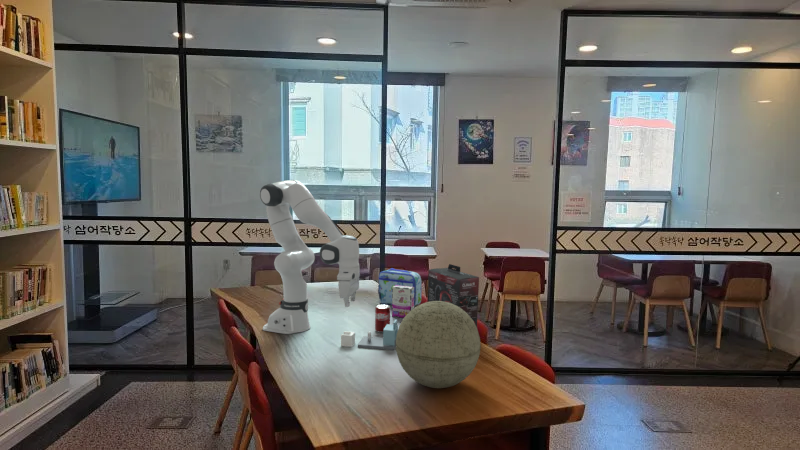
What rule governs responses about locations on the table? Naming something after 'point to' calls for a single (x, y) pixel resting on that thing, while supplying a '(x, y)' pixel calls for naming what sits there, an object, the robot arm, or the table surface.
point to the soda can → (382, 317)
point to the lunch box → (401, 279)
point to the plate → (374, 343)
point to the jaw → (348, 339)
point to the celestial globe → (438, 344)
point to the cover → (390, 333)
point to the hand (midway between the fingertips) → (350, 303)
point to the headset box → (454, 289)
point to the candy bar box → (402, 300)
